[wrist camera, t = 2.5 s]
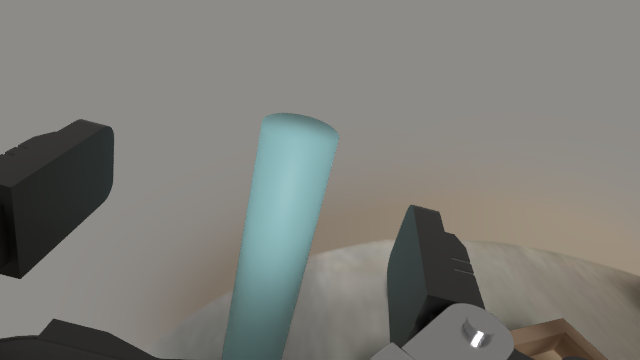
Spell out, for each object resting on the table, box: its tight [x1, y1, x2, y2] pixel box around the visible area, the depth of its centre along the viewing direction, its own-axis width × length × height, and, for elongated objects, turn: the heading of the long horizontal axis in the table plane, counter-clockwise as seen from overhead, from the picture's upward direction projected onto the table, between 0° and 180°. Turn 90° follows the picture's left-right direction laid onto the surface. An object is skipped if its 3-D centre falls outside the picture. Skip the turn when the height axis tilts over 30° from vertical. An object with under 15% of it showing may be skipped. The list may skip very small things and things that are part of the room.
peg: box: [222, 113, 339, 360], centre depth 28 cm, size 4×4×19 cm
